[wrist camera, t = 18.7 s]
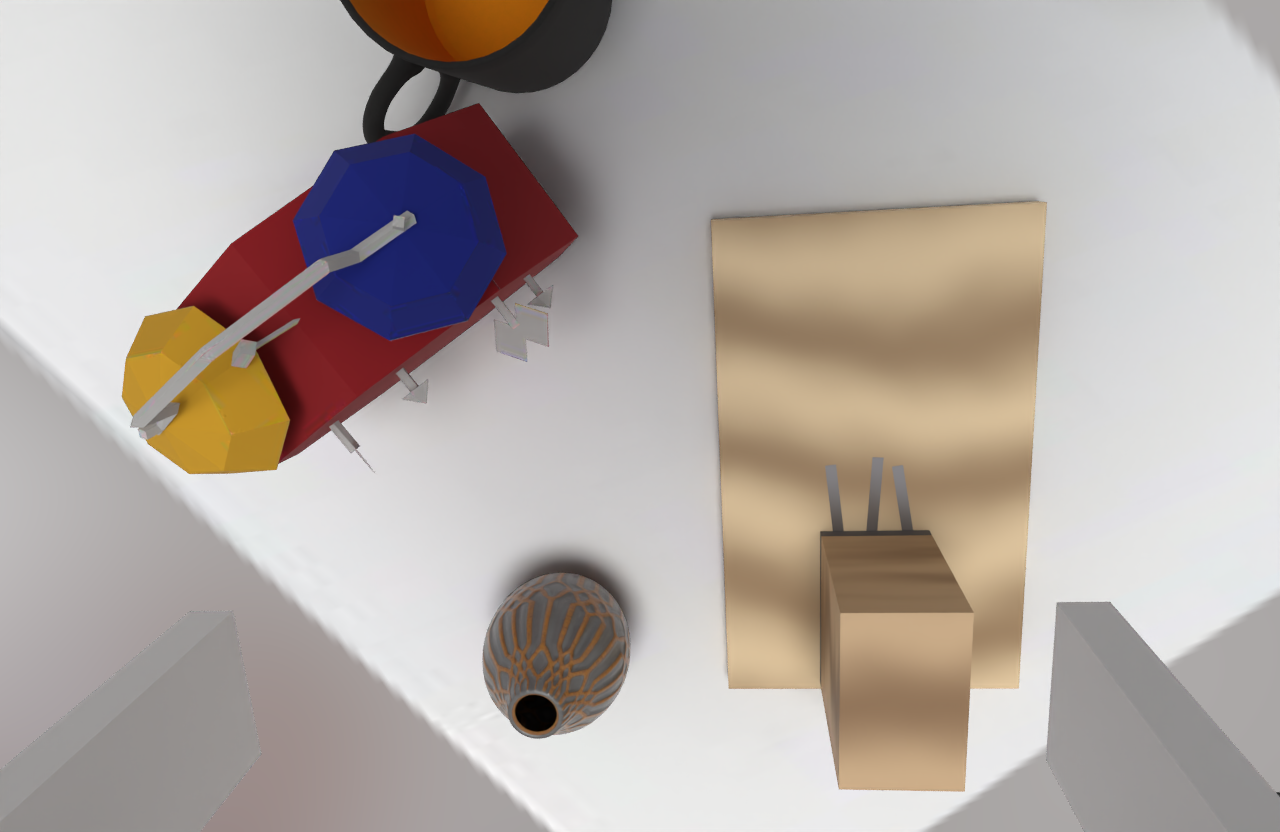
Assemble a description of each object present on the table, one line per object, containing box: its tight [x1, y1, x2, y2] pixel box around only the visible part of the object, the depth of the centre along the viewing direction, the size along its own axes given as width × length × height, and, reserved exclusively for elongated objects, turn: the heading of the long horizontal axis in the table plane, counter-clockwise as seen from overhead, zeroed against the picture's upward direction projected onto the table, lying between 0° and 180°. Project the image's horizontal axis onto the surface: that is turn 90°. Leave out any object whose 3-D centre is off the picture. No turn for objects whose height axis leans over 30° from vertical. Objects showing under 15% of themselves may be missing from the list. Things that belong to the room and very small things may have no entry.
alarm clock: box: [122, 103, 578, 474], centre depth 33 cm, size 15×9×20 cm, turn 127°
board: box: [711, 201, 1047, 689], centre depth 42 cm, size 23×14×1 cm, turn 3°
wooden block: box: [820, 530, 974, 791], centre depth 40 cm, size 8×5×8 cm, turn 3°
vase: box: [483, 573, 630, 739], centre depth 42 cm, size 7×7×9 cm
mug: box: [340, 0, 612, 143], centre depth 34 cm, size 8×12×10 cm
